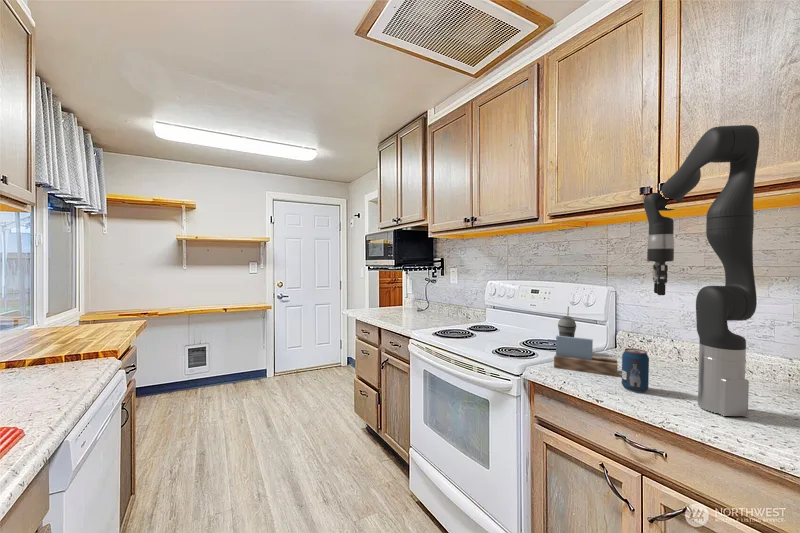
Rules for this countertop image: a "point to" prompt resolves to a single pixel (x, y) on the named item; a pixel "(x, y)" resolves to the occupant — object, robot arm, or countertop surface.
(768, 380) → the countertop surface
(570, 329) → the beverage cup
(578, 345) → the door panel
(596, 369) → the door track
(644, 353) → the soda can
